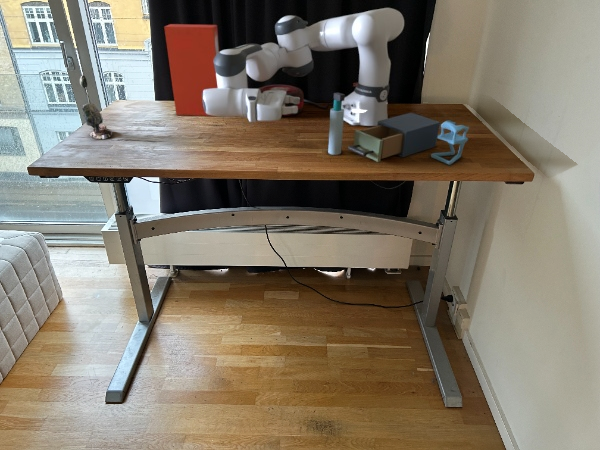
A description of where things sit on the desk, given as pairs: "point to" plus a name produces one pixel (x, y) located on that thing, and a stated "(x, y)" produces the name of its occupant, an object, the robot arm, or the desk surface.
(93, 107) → the plant with pod
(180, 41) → the file binder
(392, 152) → the drawer
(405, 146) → the cabinet
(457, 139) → the chair
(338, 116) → the spray bottle
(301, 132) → the desk surface
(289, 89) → the red flat cylinder
